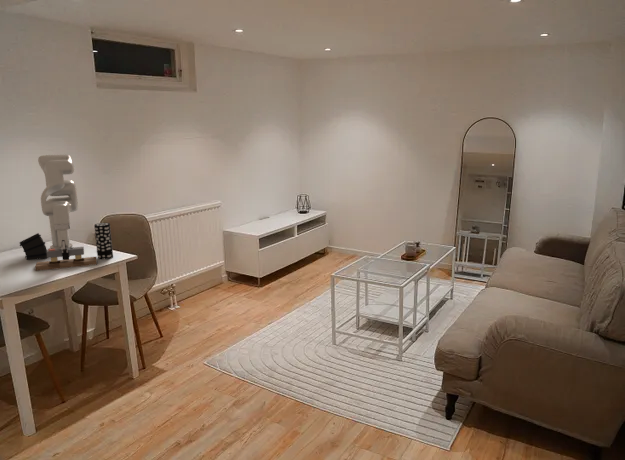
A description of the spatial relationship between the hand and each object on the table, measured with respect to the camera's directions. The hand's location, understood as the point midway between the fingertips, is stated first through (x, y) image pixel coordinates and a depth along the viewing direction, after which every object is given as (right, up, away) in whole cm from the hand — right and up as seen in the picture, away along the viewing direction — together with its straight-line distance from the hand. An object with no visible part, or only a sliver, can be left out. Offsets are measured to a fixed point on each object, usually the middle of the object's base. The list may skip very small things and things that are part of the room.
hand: (66, 258), depth 266 cm
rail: (0, -4, +1) cm, 4 cm away
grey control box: (0, -1, 0) cm, 1 cm away
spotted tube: (+15, -1, +17) cm, 22 cm away
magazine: (-25, -2, +13) cm, 28 cm away
